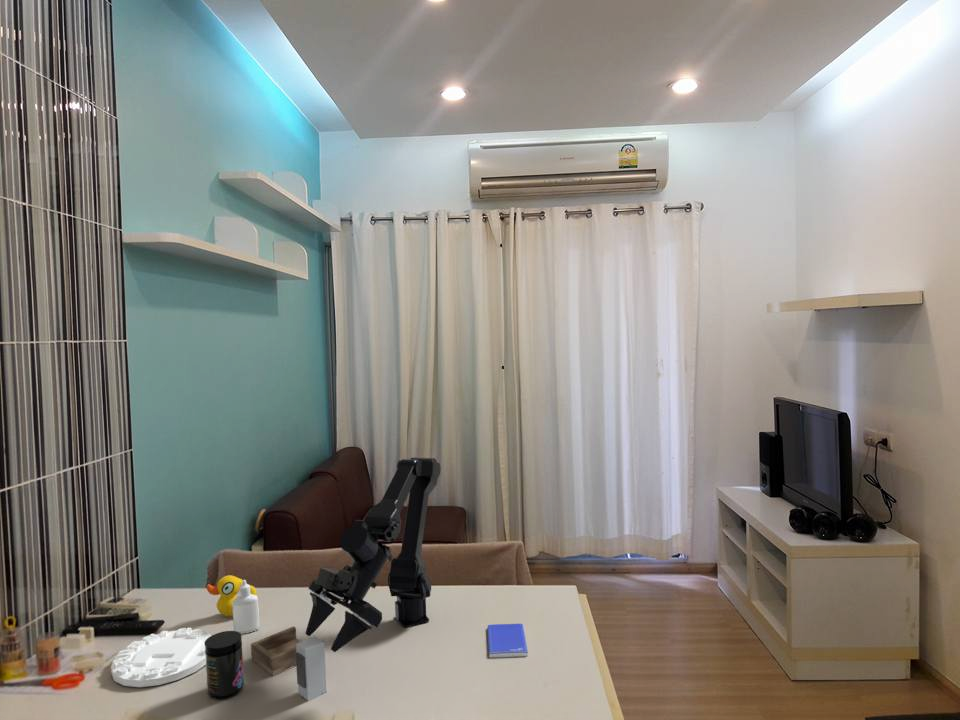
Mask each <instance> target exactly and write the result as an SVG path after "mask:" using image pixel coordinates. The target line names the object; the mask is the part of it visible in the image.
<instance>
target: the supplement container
mask: <svg viewBox="0 0 960 720" xmlns="http://www.w3.org/2000/svg"><path fill="white" fill-rule="evenodd" d="M242 636H243V635H242V634H241V633H239V632H237V631H234V630H226V631H220V632H216V633H215V634H211V636H210V637H209V638H207V639H206V641H205V657H206V665H205V670H206V671H205V672H206V686H207V687H206V688H207V694H208V696H209V698H211V699H214V700H226V699H230V698H232V697H234V696H236V695H237V694H239V693H240V692H241V691H242V689H243V688H244V685H245V679H244V677H245V676H244V658H243V640H242V638H243V637H242Z"/></svg>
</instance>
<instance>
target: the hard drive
mask: <svg viewBox="0 0 960 720" xmlns="http://www.w3.org/2000/svg"><path fill="white" fill-rule="evenodd" d="M525 634H526V633H525V629H524V624H523V623H504V624H503V623H500V624H499V623H498V624H488V625H487V638H488V640H487V642H488V643H487V644H488V654H489V655H488V656H489V658H509V657H510V658H513V657H529V653H528V652H529V651H528V645H527V640H526V635H525Z"/></svg>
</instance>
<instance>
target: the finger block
mask: <svg viewBox="0 0 960 720" xmlns="http://www.w3.org/2000/svg"><path fill="white" fill-rule="evenodd" d="M296 652H297V653H296V666H295V667H296V681H297V682H296V684H297V685H298V686H297V687H298V691H297V692H298V695H299V694H300V695H299V696H300V697H302V696H303V697H304V698H305V699H304V698H303V697H302V698H303V699H304V700H306V699H307V700H308V701H307V700H306V701H307V702H310V701H311V700H310V699H312V698H314V699H316V698H317V697H316V696H318V697H320V696H322V695H323V694H322V693H324V692H326V691H327V675H326V673H327V671H326V655H325V652H326V651H325V641H324V640H322V639H320V638H319V637H317V636H315V635H314V636H311V637H309V638H307V639H304V640H301V642H299V643H297V644H296ZM327 692H328V691H327ZM327 692H326V693H327ZM321 694H322V695H321ZM324 694H325V693H324ZM319 695H320V696H319ZM315 697H316V698H315ZM309 700H310V701H309ZM312 700H313V699H312Z"/></svg>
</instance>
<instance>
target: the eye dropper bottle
mask: <svg viewBox="0 0 960 720" xmlns="http://www.w3.org/2000/svg"><path fill="white" fill-rule="evenodd" d="M242 580H243V581H242V585H241V586H240V587H239V592H238V593H239V594H238V595H237V596H238V597H236V598H235V599H234V600H233V616H232V621H233V622H232V623H233V631H237V632H239V633H241V635H243V634H244V633H246V634H250V633H249V632H251V633H254V632H256V630H257V631H258V630H259V629H260V611H259V598H258V597H259V596H258V595H257V596H256V595H253V594H250V586H251V584H248V583H247V580H246V579H242ZM253 631H254V632H253ZM244 635H245V634H244Z"/></svg>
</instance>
